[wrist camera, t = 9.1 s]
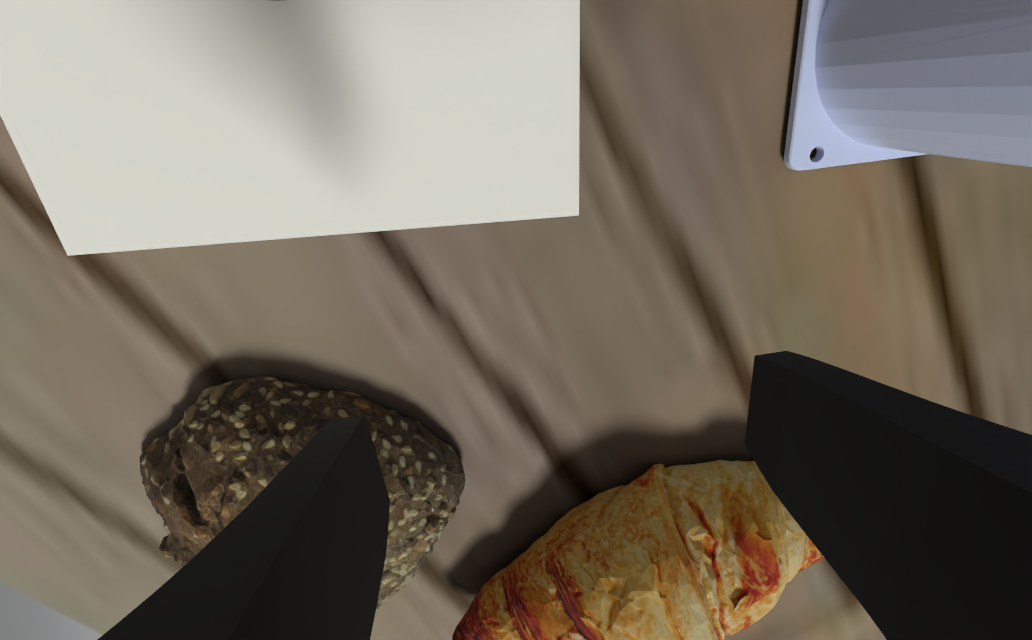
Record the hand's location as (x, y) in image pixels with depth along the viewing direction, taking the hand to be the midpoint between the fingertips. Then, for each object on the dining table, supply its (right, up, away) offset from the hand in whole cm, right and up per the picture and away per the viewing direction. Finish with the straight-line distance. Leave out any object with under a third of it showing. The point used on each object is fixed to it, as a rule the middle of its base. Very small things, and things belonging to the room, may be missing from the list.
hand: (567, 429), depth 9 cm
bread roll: (-11, -5, +13) cm, 18 cm away
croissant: (+6, -9, +17) cm, 20 cm away
